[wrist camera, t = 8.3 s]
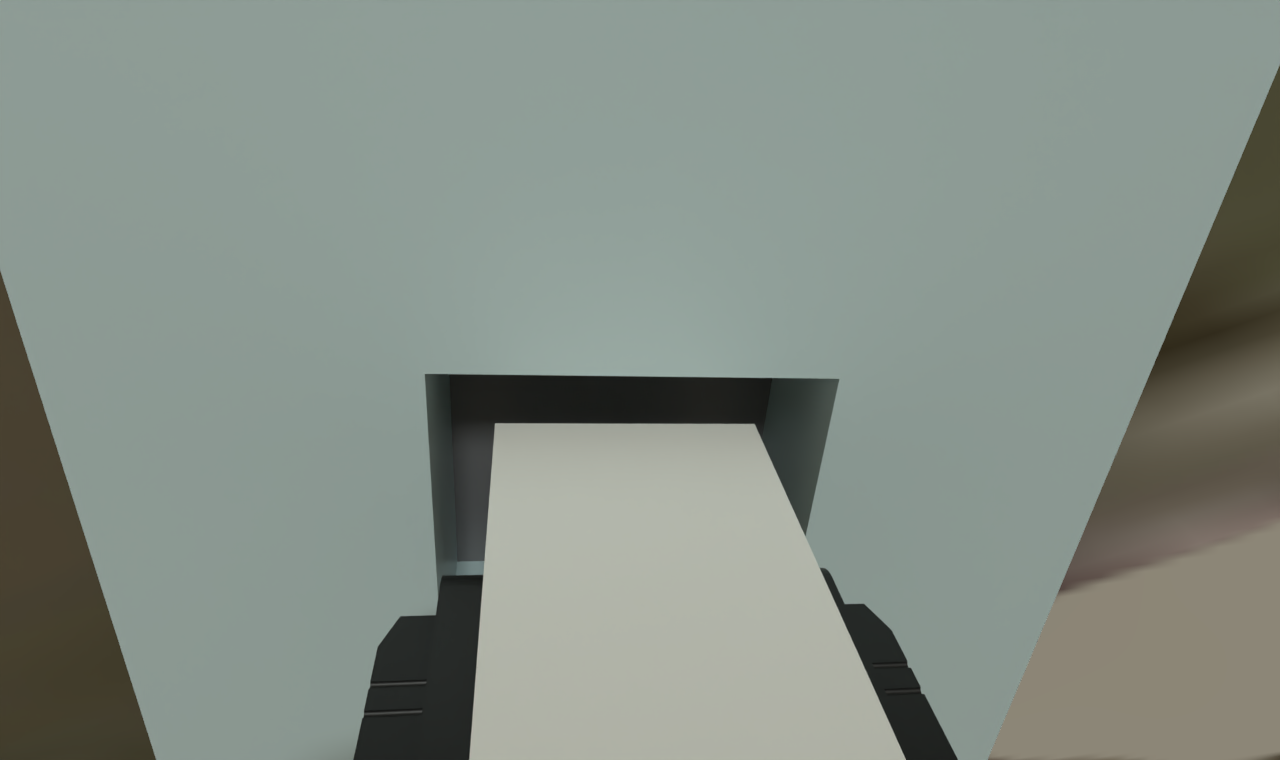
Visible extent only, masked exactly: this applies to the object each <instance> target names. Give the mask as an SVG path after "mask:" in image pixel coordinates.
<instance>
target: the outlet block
mask: <svg viewBox="0 0 1280 760" xmlns="http://www.w3.org/2000/svg"><path fill="white" fill-rule="evenodd" d="M1279 65H1280V0H0V271H1V274H2V277H3V280H4V283H5V286H6V290H7V293H8V296H9V299H10V302H11V305H12V308H13V312H14V315H15V318H16V321H17V324H18V327H19V330H20V334H21V337H22V340H23V343H24V346H25V349H26V352H27V355H28V359H29V362H30V365H31V368H32V371H33V374H34V377H35V381H36V384H37V387H38V390H39V393H40V396H41V399H42V403H43V406H44V409H45V412H46V415H47V418H48V421H49V425H50V428H51V431H52V434H53V437H54V440H55V443H56V446H57V450H58V453H59V456H60V459H61V462H62V465H63V468H64V472H65V475H66V478H67V481H68V484H69V487H70V490H71V494H72V497H73V500H74V503H75V506H76V509H77V512H78V515H79V519H80V522H81V525H82V528H83V531H84V534H85V537H86V541H87V544H88V547H89V550H90V553H91V556H92V559H93V563H94V566H95V569H96V572H97V575H98V578H99V581H100V585H101V588H102V591H103V594H104V597H105V600H106V603H107V606H108V610H109V613H110V616H111V619H112V622H113V625H114V628H115V632H116V635H117V638H118V641H119V644H120V647H121V650H122V654H123V657H124V660H125V663H126V666H127V669H128V672H129V675H130V679H131V682H132V685H133V688H134V691H135V694H136V697H137V701H138V704H139V707H140V710H141V713H142V716H143V719H144V723H145V726H146V729H147V732H148V735H149V738H150V741H151V745H152V748H153V751H154V754H155V757H156V760H353V759H354V754H355V749H356V745H357V740H358V735H359V731H360V726H361V722H362V718H363V717H364V708H365V703H366V698H367V694H368V689H370V680H371V675H372V671H373V666H374V661H375V657H376V652H377V648H378V646H379V644H380V643H381V642H382V640H383V639H384V638H385V636H386V635H387V633H388V632H389V631H390V629H391V628H392V627H393V625H394V624H395V623H396V621H397V620H398V619H399V617H400V616H424V615H436V610H437V603H438V596H439V588H440V582H441V578H442V576H450V575H483V574H484V561H485V547H486V534H487V521H488V508H489V495H490V482H491V469H492V456H493V443H494V430H495V423H572V424H755V426H756V428H757V430H758V433H759V435H760V437H761V439H762V442H763V444H764V446H765V448H766V450H767V453H768V455H769V457H770V459H771V461H772V464H773V466H774V468H775V470H776V473H777V475H778V477H779V479H780V481H781V484H782V486H783V488H784V490H785V493H786V495H787V497H788V499H789V501H790V504H791V506H792V508H793V510H794V512H795V515H796V517H797V519H798V521H799V524H800V526H801V528H802V530H803V532H804V535H805V537H806V539H807V541H808V544H809V546H810V548H811V550H812V552H813V555H814V557H815V559H816V561H817V563H818V566H819V568H826V569H827V570H828V571H829V572H830V574H831V576H832V578H833V580H834V582H835V584H836V586H837V588H838V591H839V593H840V595H841V597H842V599H843V601H844V604H865V605H866V606H867V607H868V608H869V609H870V610H871V611H872V612H873V613H874V614H875V615H876V616H877V617H878V618H880V619H881V620H882V621H883V622H884V623H885V624H886V625H887V626H888V627H889V628H890V629H891V630H892V632H893V634H894V636H895V638H896V640H897V642H898V644H899V645H900V647H901V649H902V651H903V653H904V655H905V657H906V659H907V661H908V662H907V664H908V668H911V669H912V671H913V673H914V675H915V677H916V679H917V681H918V683H919V685H920V686H921V693H922V694H925V696H926V698H927V700H928V702H929V704H930V706H931V708H932V710H933V712H934V714H935V716H936V718H937V720H938V722H939V724H940V726H941V727H942V729H943V731H944V733H945V735H946V737H947V739H948V741H949V743H950V745H951V747H952V749H953V751H954V753H955V755H956V757H957V759H958V760H988V757H989V755H990V753H991V750H992V748H993V745H994V743H995V741H996V738H997V736H998V733H999V731H1000V729H1001V726H1002V724H1003V721H1004V719H1005V717H1006V714H1007V712H1008V710H1009V707H1010V705H1011V702H1012V700H1013V698H1014V696H1015V693H1016V691H1017V688H1018V686H1019V683H1020V681H1021V679H1022V676H1023V674H1024V672H1025V669H1026V667H1027V664H1028V662H1029V660H1030V657H1031V655H1032V652H1033V650H1034V648H1035V645H1036V643H1037V641H1038V638H1039V636H1040V634H1041V631H1042V629H1043V626H1044V624H1045V622H1046V619H1047V617H1048V615H1049V612H1050V610H1051V608H1052V605H1053V603H1054V600H1055V598H1056V596H1057V593H1058V591H1059V588H1060V586H1061V584H1062V581H1063V579H1064V577H1065V574H1066V572H1067V569H1068V567H1069V565H1070V562H1071V560H1072V558H1073V555H1074V553H1075V550H1076V548H1077V546H1078V543H1079V541H1080V539H1081V536H1082V534H1083V531H1084V529H1085V527H1086V524H1087V522H1088V520H1089V517H1090V515H1091V512H1092V510H1093V508H1094V505H1095V503H1096V500H1097V498H1098V496H1099V493H1100V491H1101V489H1102V486H1103V484H1104V481H1105V479H1106V477H1107V474H1108V472H1109V470H1110V467H1111V465H1112V462H1113V460H1114V458H1115V455H1116V453H1117V451H1118V448H1119V446H1120V443H1121V441H1122V439H1123V436H1124V434H1125V431H1126V429H1127V427H1128V424H1129V422H1130V420H1131V417H1132V415H1133V412H1134V410H1135V408H1136V405H1137V403H1138V401H1139V398H1140V396H1141V393H1142V391H1143V389H1144V386H1145V384H1146V382H1147V379H1148V377H1149V374H1150V372H1151V370H1152V367H1153V365H1154V363H1155V360H1156V358H1157V355H1158V353H1159V351H1160V348H1161V346H1162V343H1163V341H1164V339H1165V336H1166V334H1167V332H1168V329H1169V327H1170V324H1171V322H1172V320H1173V317H1174V315H1175V313H1176V310H1177V308H1178V305H1179V303H1180V301H1181V298H1182V296H1183V294H1184V291H1185V289H1186V286H1187V284H1188V282H1189V279H1190V277H1191V275H1192V272H1193V270H1194V267H1195V265H1196V263H1197V260H1198V258H1199V255H1200V253H1201V251H1202V248H1203V246H1204V244H1205V241H1206V239H1207V236H1208V234H1209V232H1210V229H1211V227H1212V225H1213V222H1214V220H1215V217H1216V215H1217V213H1218V210H1219V208H1220V206H1221V203H1222V201H1223V198H1224V196H1225V194H1226V191H1227V189H1228V186H1229V184H1230V182H1231V179H1232V177H1233V175H1234V172H1235V170H1236V167H1237V165H1238V163H1239V160H1240V158H1241V156H1242V153H1243V151H1244V148H1245V146H1246V144H1247V141H1248V139H1249V137H1250V134H1251V132H1252V129H1253V127H1254V125H1255V122H1256V120H1257V118H1258V115H1259V113H1260V110H1261V108H1262V106H1263V103H1264V101H1265V98H1266V96H1267V94H1268V91H1269V89H1270V87H1271V84H1272V82H1273V79H1274V77H1275V75H1276V72H1277V70H1278V68H1279Z"/></svg>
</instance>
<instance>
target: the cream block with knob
mask: <svg viewBox="0 0 1280 760" xmlns="http://www.w3.org/2000/svg"><path fill="white" fill-rule="evenodd" d="M469 760H906V759H905V756H904V754H903V752H902V750H901V747H900V745H899V743H898V741H897V739H896V736H895V734H894V732H893V730H892V728H891V725H890V723H889V721H888V719H887V716H886V714H885V712H884V710H883V708H882V705H881V703H880V701H879V699H878V696H877V694H876V692H875V690H874V688H873V685H872V683H871V681H870V679H869V677H868V674H867V672H866V670H865V668H864V665H863V663H862V661H861V659H860V657H859V654H858V652H857V650H856V648H855V646H854V643H853V641H852V639H851V637H850V634H849V632H848V630H847V628H846V626H845V623H844V621H843V619H842V617H841V614H840V612H839V610H838V608H837V606H836V603H835V601H834V599H833V597H832V595H831V592H830V590H829V588H828V586H827V583H826V581H825V579H824V577H823V575H822V572H821V570H820V568H819V566H818V563H817V561H816V559H815V557H814V555H813V552H812V550H811V548H810V546H809V544H808V541H807V539H806V537H805V535H804V532H803V530H802V528H801V526H800V524H799V521H798V519H797V517H796V515H795V512H794V510H793V508H792V506H791V504H790V501H789V499H788V497H787V495H786V493H785V490H784V488H783V486H782V484H781V481H780V479H779V477H778V475H777V473H776V470H775V468H774V466H773V464H772V461H771V459H770V457H769V455H768V453H767V450H766V448H765V446H764V444H763V442H762V439H761V437H760V435H759V433H758V430H757V428H756V426H755V424H572V423H495V430H494V443H493V456H492V469H491V482H490V495H489V508H488V521H487V534H486V547H485V561H484V574H483V587H482V600H481V613H480V626H479V639H478V652H477V665H476V678H475V691H474V704H473V717H472V731H471V744H470V757H469Z"/></svg>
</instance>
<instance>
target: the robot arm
mask: <svg viewBox="0 0 1280 760" xmlns="http://www.w3.org/2000/svg"><path fill="white" fill-rule="evenodd" d="M820 570H821V572H822V575H823V577H824V579H825V581H826V583H827V586H828V588H829V590H830V592H831V595H832V597H833V599H834V601H835V603H836V606H837V608H838V610H839V612H840V614H841V617H842V619H843V621H844V623H845V626H846V628H847V630H848V632H849V634H850V637H851V639H852V641H853V643H854V646H855V648H856V650H857V652H858V654H859V657H860V659H861V661H862V663H863V665H864V668H865V670H866V672H867V674H868V677H869V679H870V681H871V683H872V685H873V688H874V690H875V692H876V694H877V696H878V699H879V701H880V703H881V705H882V708H883V710H884V712H885V714H886V716H887V719H888V721H889V723H890V725H891V728H892V730H893V732H894V734H895V736H896V739H897V741H898V743H899V745H900V747H901V750H902V752H903V754H904V756H905V759H906V760H958V759H957V757H956V755H955V753H954V751H953V749H952V747H951V745H950V743H949V741H948V739H947V737H946V735H945V733H944V731H943V729H942V727H941V726H940V724H939V722H938V720H937V718H936V716H935V714H934V712H933V710H932V708H931V706H930V704H929V702H928V700H927V698H926V696H925V694H922V693H921V686H920V685H919V683H918V681H917V679H916V677H915V675H914V673H913V671H912V669H911V668H908V664H907V662H908V661H907V659H906V657H905V655H904V653H903V651H902V649H901V647H900V645H899V644H898V642H897V640H896V638H895V636H894V634H893V632H892V630H891V629H890V628H889V627H888V626H887V625H886V624H885V623H884V622H883V621H882V620H881V619H880V618H878V617H877V616H876V615H875V614H874V613H873V612H872V611H871V610H870V609H869V608H868V607H867V606H866V605H865V604H844V601H843V599H842V597H841V595H840V593H839V591H838V588H837V586H836V584H835V582H834V580H833V578H832V576H831V574H830V572H829V571H828V570H827V569H826V568H820ZM482 587H483V575H450V576H442V578H441V582H440V588H439V596H438V603H437V610H436V615H424V616H400V617H399V619H398V620H397V621H396V623H395V624H394V625H393V627H392V628H391V629H390V631H389V632H388V633H387V635H386V636H385V638H384V639H383V640H382V642H381V643H380V644H379V646H378V648H377V652H376V657H375V661H374V666H373V671H372V675H371V680H370V689H368V694H367V698H366V703H365V708H364V717H363V718H362V722H361V726H360V731H359V735H358V740H357V745H356V749H355V754H354V759H353V760H469V757H470V744H471V731H472V717H473V704H474V691H475V678H476V665H477V652H478V639H479V626H480V613H481V600H482Z"/></svg>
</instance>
